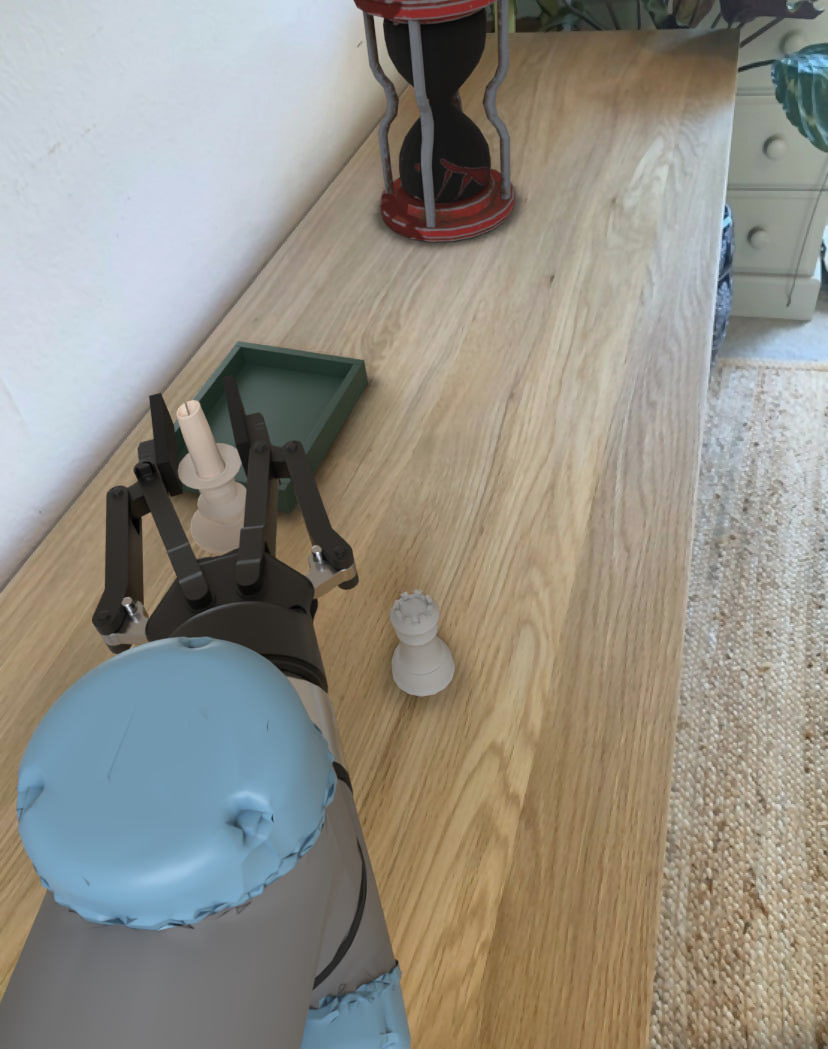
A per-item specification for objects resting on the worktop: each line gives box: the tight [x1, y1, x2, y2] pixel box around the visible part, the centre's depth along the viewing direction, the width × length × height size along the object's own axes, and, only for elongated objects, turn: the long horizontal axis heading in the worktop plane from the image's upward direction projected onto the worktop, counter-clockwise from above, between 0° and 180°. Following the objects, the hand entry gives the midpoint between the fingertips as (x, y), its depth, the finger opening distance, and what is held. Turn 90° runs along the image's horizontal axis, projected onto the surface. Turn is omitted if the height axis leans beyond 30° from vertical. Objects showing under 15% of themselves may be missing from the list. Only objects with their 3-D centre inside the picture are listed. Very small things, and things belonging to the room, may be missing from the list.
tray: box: [173, 340, 369, 514], centre depth 78 cm, size 18×14×3 cm
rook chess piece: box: [389, 589, 456, 697], centre depth 57 cm, size 4×4×8 cm
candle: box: [175, 399, 246, 556], centre depth 51 cm, size 5×5×10 cm
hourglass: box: [353, 0, 515, 243], centre depth 94 cm, size 16×16×25 cm
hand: (197, 402), depth 54 cm, fingers closed on candle, 4 cm apart
